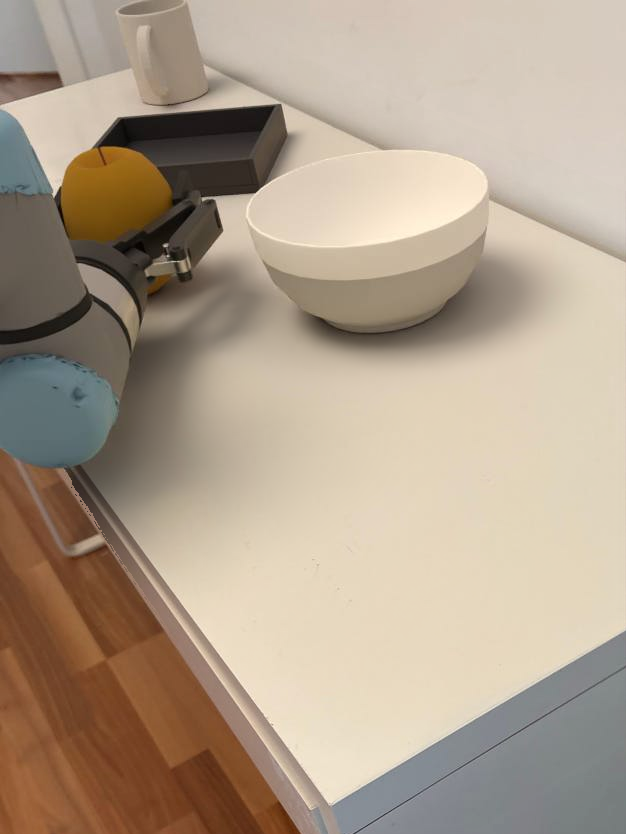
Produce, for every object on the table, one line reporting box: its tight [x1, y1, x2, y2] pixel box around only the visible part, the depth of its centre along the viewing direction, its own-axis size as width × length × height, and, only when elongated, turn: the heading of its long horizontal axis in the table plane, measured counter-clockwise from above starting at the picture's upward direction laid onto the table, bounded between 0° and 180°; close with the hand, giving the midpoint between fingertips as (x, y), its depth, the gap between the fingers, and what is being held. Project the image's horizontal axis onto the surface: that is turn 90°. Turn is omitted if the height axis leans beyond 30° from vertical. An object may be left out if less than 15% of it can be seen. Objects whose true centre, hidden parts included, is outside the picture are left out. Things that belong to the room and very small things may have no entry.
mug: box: [115, 0, 210, 106], centre depth 124 cm, size 11×10×10 cm
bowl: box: [245, 149, 490, 334], centre depth 78 cm, size 19×19×9 cm
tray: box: [90, 103, 288, 198], centre depth 106 cm, size 19×17×3 cm
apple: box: [60, 147, 174, 296], centre depth 83 cm, size 10×10×12 cm
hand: (129, 193), depth 86 cm, fingers closed on apple, 10 cm apart
